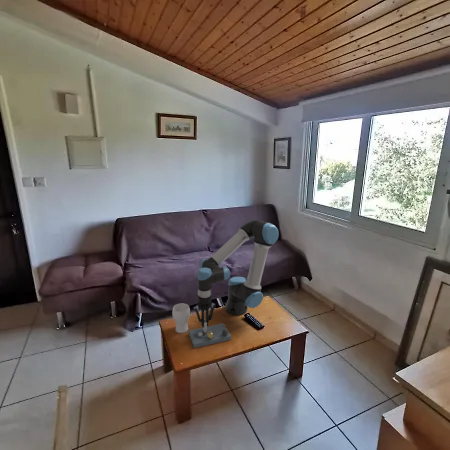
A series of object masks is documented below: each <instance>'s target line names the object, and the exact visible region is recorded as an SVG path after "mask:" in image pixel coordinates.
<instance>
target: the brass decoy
mask: <svg viewBox="0 0 450 450" xmlns="http://www.w3.org/2000/svg"><path fill="white" fill-rule="evenodd" d="M213 336H214V334H213V332H211V331H209V332H208V333H207V338H208V339H212V338H213Z"/></svg>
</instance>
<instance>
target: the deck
mask: <svg viewBox="0 0 450 450" xmlns="http://www.w3.org/2000/svg"><path fill="white" fill-rule="evenodd" d="M224 329H226V330H227V331H228V334H227V335H226V336H224V335H223V334H222V331H223V330H224ZM209 331H211V332H213V334H214V336H213V338H212V339H208V338H207V333H208V332H209ZM199 332H202V333H203V336H201V337H200V336H198V333H199ZM188 335H189V336H188V337H189V339H190V341H191V344H192V347H193V349H197V348H198V349H199V348H202V347H205V346H210V345H213V344H219V343H222V342H223V343H224V342H227V341H232V335H231V334H230V331H229V329H228V328H227V327H226V325H225V323H224V322H222V323H219V324H218V323H217V324H212V325H208V326H207V332H205V333H204V331H203V327H199V328H194V329H190V330H189V329H188Z"/></svg>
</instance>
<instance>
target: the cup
mask: <svg viewBox="0 0 450 450" xmlns="http://www.w3.org/2000/svg"><path fill="white" fill-rule="evenodd" d="M171 315H172V318H173V320H174V321H175V332H176V333H178V334H185V333H186V332H188V331H189V325H188V321H189V319H190V317H191V316H190V315H191V309H190V305H188V304H187V303H181V302H180V303H177V304H174V306H173V307H172V313H171Z"/></svg>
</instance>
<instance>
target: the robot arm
mask: <svg viewBox="0 0 450 450" xmlns="http://www.w3.org/2000/svg"><path fill="white" fill-rule="evenodd" d="M252 238H253V244H254V248H253V254H252V258H251V260H250V261H251V262H250V265H249V268H248V274H247V277H243V276H233V277H231V271H230V269H229V267H228V266H221V267H220V265H222V264H223V263H224V261H226V260H227V259H228V258H229V257H230V256H231V255H232V254H233V253H234V252H235V251H237V250H238V249H239V248H240V247H241V246H242V245H243V244H244V243H245V242H247V241H249V240H250V239H252ZM278 239H279V229H278V227H276V225H274V224H273V223H270V222H268V221H267V222H266V221H263V220H261V219H252V220H250V221H248V222H247V223H245V224H243V225H242V226H241V227H239V229H238V230H237V232H236V233H235V234H234V235H233V236H232V237H231V238H229V240H228V241H226V242H225V243H224V244H223V245H222V246H220V248H219V249H218V250H217V251H215V252H214V253H212V255H211V256H210V257H209V258H204V259H202V260H200V262H199V264H198V265H199V269H198V270H197V305H196V306H193V310H194V312H195V314H196V317H197V320H198V323H201V328H203V331H204V333H205V332H207V327H208V326H209V323H210V321H212V319H213V315H214V311H215V308H216V307H217V305H216V303H215V302H212V285H214V284H217V283H221V282H225V281H226V280H228V284H227V285H228V290H227V293H228V296H227V298H228V299H227V301H226V304H225V311H226V313H228V314H230V315H232V316H242V315H245V314H246V313H247V312H248V308H250V309H255V308H257V307H259V306H260V305H261V304H262V301H264V294H263V292H261V291H262V286H261V282H262V277H263V273H264V269H265V265H266V264H265V263H266V260H267V258H268V257H267V256H268V253H269V249H270V248H272V247H273V244H275V243H276V242H277V241H278ZM199 310H200V311H199ZM199 312H200V313H199Z"/></svg>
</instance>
